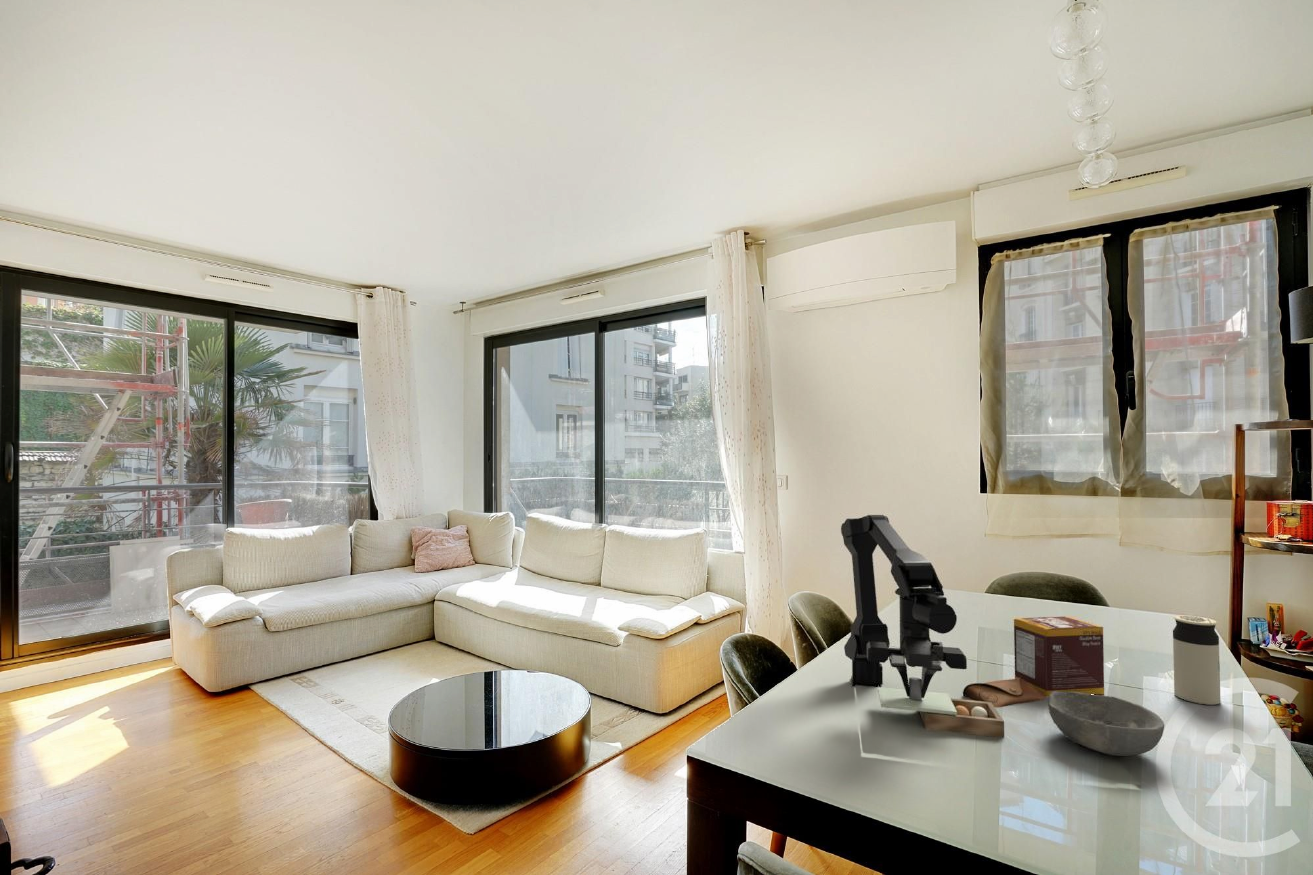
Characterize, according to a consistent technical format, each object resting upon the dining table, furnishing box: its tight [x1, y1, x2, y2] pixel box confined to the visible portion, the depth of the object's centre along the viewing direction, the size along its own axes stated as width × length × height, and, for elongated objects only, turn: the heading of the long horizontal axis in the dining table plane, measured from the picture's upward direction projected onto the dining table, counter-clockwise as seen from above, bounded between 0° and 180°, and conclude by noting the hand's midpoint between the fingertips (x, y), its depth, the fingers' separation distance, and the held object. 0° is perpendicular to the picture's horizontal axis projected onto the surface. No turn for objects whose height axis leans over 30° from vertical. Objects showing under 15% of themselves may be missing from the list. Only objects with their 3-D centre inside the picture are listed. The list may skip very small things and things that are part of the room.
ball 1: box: [955, 706, 969, 716], centre depth 128 cm, size 3×3×3 cm
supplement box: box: [1013, 615, 1105, 698], centre depth 150 cm, size 10×15×16 cm
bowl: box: [1047, 691, 1165, 757], centre depth 118 cm, size 18×18×8 cm
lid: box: [877, 676, 957, 715], centre depth 130 cm, size 14×10×5 cm
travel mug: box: [1172, 614, 1222, 706], centre depth 143 cm, size 8×8×18 cm
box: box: [919, 697, 1005, 738], centre depth 128 cm, size 14×10×4 cm
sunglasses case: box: [962, 677, 1048, 708], centre depth 142 cm, size 18×7×7 cm
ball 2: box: [971, 707, 988, 718], centre depth 128 cm, size 3×3×3 cm
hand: (915, 696), depth 130 cm, fingers closed on lid, 2 cm apart
